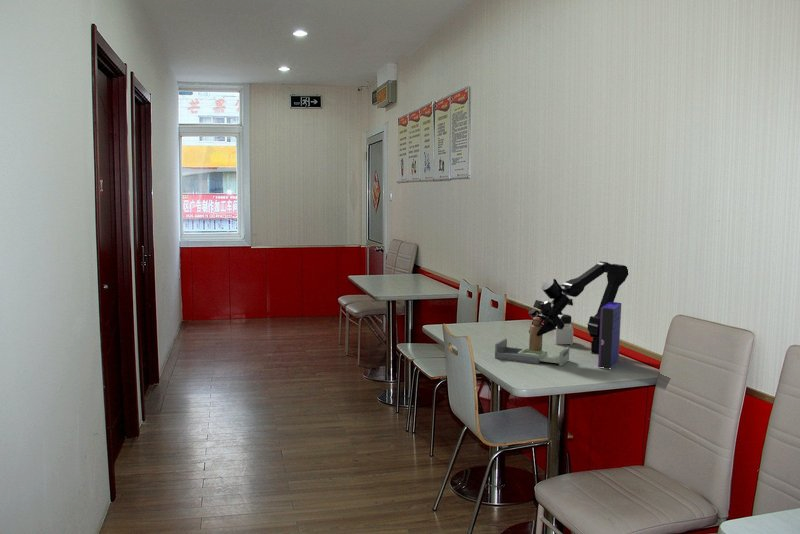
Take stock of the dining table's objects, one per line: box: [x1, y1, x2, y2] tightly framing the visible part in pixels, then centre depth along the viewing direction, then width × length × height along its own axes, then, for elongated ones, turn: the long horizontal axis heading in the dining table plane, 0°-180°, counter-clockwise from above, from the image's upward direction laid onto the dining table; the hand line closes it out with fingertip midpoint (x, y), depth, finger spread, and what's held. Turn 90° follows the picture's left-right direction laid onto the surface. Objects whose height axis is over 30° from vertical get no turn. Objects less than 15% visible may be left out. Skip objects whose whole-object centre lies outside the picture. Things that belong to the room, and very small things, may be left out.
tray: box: [518, 346, 570, 367], centre depth 279 cm, size 19×12×5 cm, turn 62°
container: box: [553, 313, 574, 346], centre depth 312 cm, size 8×8×13 cm
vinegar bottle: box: [528, 317, 544, 351], centre depth 281 cm, size 5×5×13 cm
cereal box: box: [597, 301, 622, 369], centre depth 274 cm, size 17×5×24 cm, turn 152°
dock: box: [494, 338, 548, 365], centre depth 283 cm, size 18×12×6 cm, turn 62°
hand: (533, 334), depth 280 cm, fingers closed on vinegar bottle, 5 cm apart
